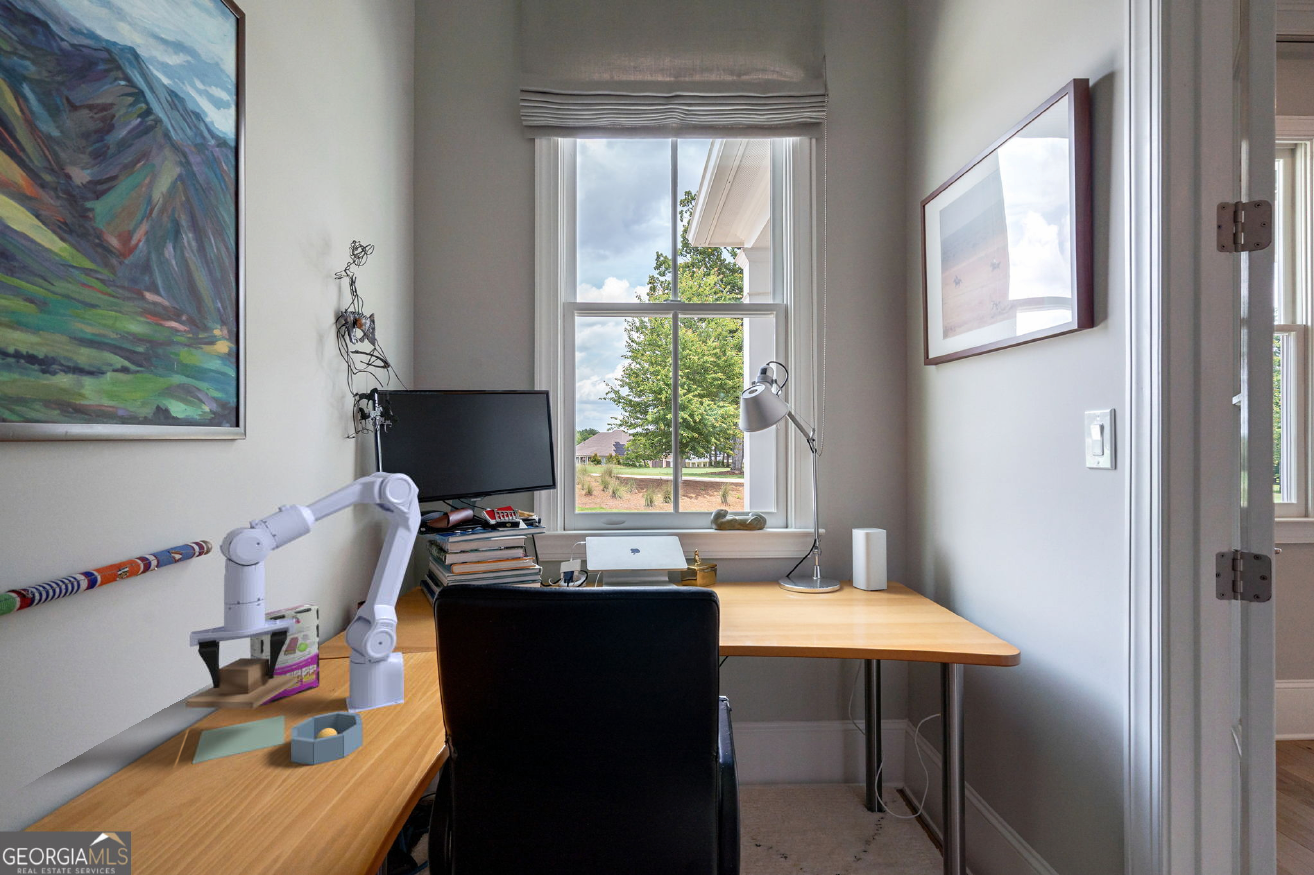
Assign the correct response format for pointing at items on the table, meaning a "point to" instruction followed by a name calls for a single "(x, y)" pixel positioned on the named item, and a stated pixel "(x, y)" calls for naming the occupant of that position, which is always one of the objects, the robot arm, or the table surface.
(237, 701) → the lid
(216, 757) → the mat
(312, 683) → the candy bar box
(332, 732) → the orange ball
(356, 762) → the table surface
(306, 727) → the bowl
